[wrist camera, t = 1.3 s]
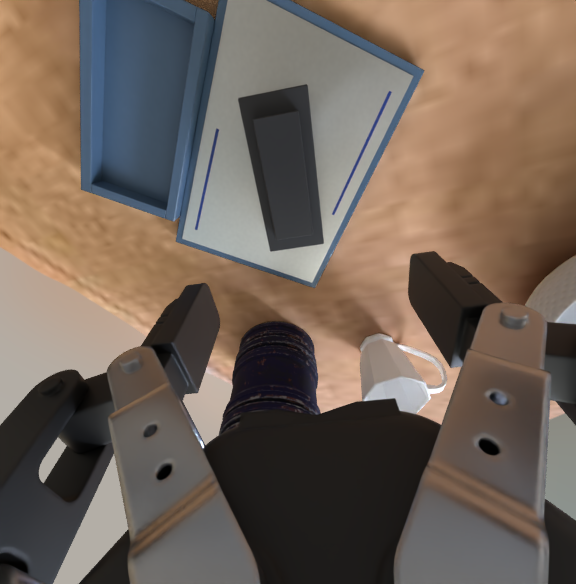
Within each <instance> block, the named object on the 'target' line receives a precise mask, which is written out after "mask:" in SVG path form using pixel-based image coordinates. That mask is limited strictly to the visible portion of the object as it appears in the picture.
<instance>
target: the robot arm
mask: <svg viewBox="0 0 576 584" xmlns="http://www.w3.org/2000/svg"><path fill="white" fill-rule="evenodd" d="M408 295H409V300H410V303H411V305H412V307H413V309H414V310H415V312H416V313H417V315H418V317H419V318H420V320H421V321H422V323H423V324H424V326H425V328H426V329H427V331H428V332H429V334H430V336H431V337H432V339H433V340H434V342H435V344H436V345H437V347H438V348H439V350H440V352H441V353H442V355H443V356H444V358H445V360H446V361H447V363H448V364H449V366H450V368H453V367H461V370H460V373H459V376H458V379H457V381H456V384H455V387H454V390H453V393H452V396H451V399H450V402H449V405H448V407H447V410H446V413H445V416H444V419H443V422H442V425H440V424H438V423H436V422H434V421H432V420H430V419H428V418H425V417H423V416H420V415H417V414H413V413H409V412H404V411H400V410H399V407H398V405H397V402H396V399H395V398H391V399H381V400H370V401H360V402H354V403H351V404H348V405H345V406H342V407H339V408H336V409H333V410H330V411H327V412H324V413H322V414H317V415H313V414H306V413H299V412H292V411H285V410H279V409H275V410H265V411H254V412H244V413H241V415H240V421H239V426H236V427H234V428H232V429H229V430H227V431H225V432H224V433H222V434H220V435H219V436H217V437H216V438H214V439H213V440H212V441H210V442H209V443H208V444H207V445H206V446H205V444H204V442H203V440H202V438H201V436H200V434H199V432H198V430H197V428H196V426H195V424H194V422H193V420H192V419H191V417H190V415H189V413H188V411H187V409H186V407H185V405H184V403H183V401H182V400H183V398H184V395H185V394H192V393H198V391H199V388H200V385H201V382H202V379H203V376H204V373H205V370H206V367H207V364H208V361H209V358H210V355H211V352H212V349H213V346H214V343H215V340H216V337H217V334H218V331H219V328H220V318H219V314H218V311H217V308H216V305H215V302H214V300H213V297H212V294H211V291H210V289H209V287H208V285H207V284H206V283H201V284H194V285H188V286H186V287H185V289H184V290H183V292H182V293H181V295H180V297H179V298H178V299H175V300H174V301H173V302H172V303H170V304H169V305H168V306H167V307H166V308H165V310H164V311H163V313H162V314H161V317H159V319H158V320H157V322H156V324H155V325H154V327H153V328H152V330H151V331H150V333H149V334H148V336H147V337H146V339H145V340H144V342H143V344H142V345H141V346H140V347H136V348H133V349H130V350H128V351H126V352H124V353H123V354H121V355H119V356H118V357H117V358H116V359H115V360H114V361H113V362H112V363H111V364H110V365H109V367H108V369H107V372H106V373H103V374H100V375H97V376H94V377H91V378H88V379H86V380H84V379H83V378H82V376H81V375H80V374H79V372H78V371H76V370H65V371H61V372H58V373H56V374H54V375H52V376H50V377H48V378H46V379H45V380H43V381H42V382H40V383H39V384H38V385H36V386H35V387H34V388H33V389H32V390H31V391H30V392H29V393H28V394H27V396H26V397H25V398H24V399H23V400H22V401H21V402H20V403H19V405H18V406H17V407H16V408H15V409H14V410H13V412H12V413H11V414H10V415H9V416H8V417H7V418H6V419H5V421H4V422H3V423H2V424H1V425H0V584H53V582H54V580H55V578H56V576H57V574H58V571H59V569H60V567H61V565H62V563H63V561H64V558H65V556H66V554H67V552H68V550H69V548H70V546H71V544H72V541H73V539H74V537H75V535H76V533H77V531H78V529H79V527H80V525H81V522H82V520H83V518H84V516H85V514H86V512H87V510H88V507H89V505H90V503H91V501H92V499H93V497H94V495H95V493H96V490H97V488H98V486H99V484H100V482H101V480H102V478H103V476H104V473H105V471H106V469H107V467H108V465H109V463H110V460H111V458H112V456H113V454H115V459H116V465H117V470H118V475H119V481H120V486H121V491H122V496H123V502H124V508H125V513H126V518H127V523H128V528H129V529H128V530H127V531H126V532H125V534H124V535H123V536H122V537H121V538H120V539H119V540H118V541H117V543H115V545H114V546H113V547H112V548H111V549H110V550H109V551H108V552H107V553H106V554H105V556H104V557H103V558H102V559H101V560H100V561H99V562H98V563H97V564H96V565H95V566H94V568H93V569H92V570H91V571H90V572H89V573H88V574H87V575H86V576H85V577H84V578H83V580H82V581H81V582H80V583H79V584H576V520H574V519H573V518H571V517H570V516H568V515H567V514H566V513H564V512H563V511H562V510H560V509H559V508H557V507H556V506H555V505H553V504H552V503H550V502H549V501H548V500H546V499H545V487H546V465H547V447H548V429H549V410H550V400H553V401H556V402H557V403H558V405H559V406H560V407H561V408H562V409H563V411H564V412H565V413H566V414H567V415H568V417H569V418H570V419H571V420H572V421H573V422H574V424H575V425H576V324H567V323H554V322H547V321H546V319H545V318H544V316H543V315H541V314H540V313H539V312H537V311H535V310H534V309H532V308H529V307H526V306H523V305H519V304H515V303H503V302H502V301H501V300H500V299H499V298H497V297H496V296H495V295H494V294H493V293H492V292H491V291H490V290H488V289H487V288H486V287H485V286H484V285H483V284H482V283H480V282H479V281H478V280H477V279H476V278H475V277H473V276H472V274H471V273H469V272H468V271H467V270H466V269H465V268H464V267H461V266H459V265H457V264H454V263H452V262H447V263H446V262H445V261H444V260H443V259H442V258H441V257H440V256H439V255H438V254H437V253H436V252H434V251H432V252H424V253H417V254H412V256H411V259H410V271H409V286H408ZM57 437H59V438H60V439H61V440H62V441H63V442H64V443H65V444H66V445H67V447H66V449H65V450H64V452H63V453H62V455H61V457H60V458H59V460H58V461H57V463H56V464H55V466H54V468H53V469H52V471H51V473H50V474H49V476H48V477H47V479H46V481H45V482H44V484H43V483H42V482H41V481H40V479H39V467H40V464H41V462H42V460H43V458H44V457H45V455H46V454H47V452H48V451H49V449H50V448H51V446H52V445H53V443H54V442H55V440H56V439H57Z"/></svg>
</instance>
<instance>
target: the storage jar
mask: <svg viewBox="0 0 576 584" xmlns="http://www.w3.org/2000/svg"><path fill="white" fill-rule="evenodd" d="M232 377H233V378H232V383H233V389H232V394H231V398H230V401H229V403H228V404H227V407H226V409H225V411H224V414H223V421H222V424H221V428H220V432H219V435H220V434H222V433H224V432H225V431H227V430H229V429H232V428H234V427H236V426H239V421H240V415H241V413H244V412H254V411H265V410H275V409H279V410H285V411H292V412H299V413H306V414H313V415H317V414H320V410H319V407H318V406H317V399H316V389H317V384H318V373H317V365H316V359H315V355H314V345H313V342H312V340H311V338H310V337H309V335H308V334H307V333H306V332H305V331H303V330H302V329H301V328H299V327H297V326H295V325H293V324H289V323H285V322H267V323H262V324H260V325H257V326H255V327H253V328H252V329H250V330H249V331H248V332H247V333H246V334H245V335H244V337H243V338H242V340H241V343H240V349H239V352H238V354H237V357H236V361H235V366H234V371H233V376H232Z"/></svg>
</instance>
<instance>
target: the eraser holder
mask: <svg viewBox="0 0 576 584" xmlns="http://www.w3.org/2000/svg"><path fill="white" fill-rule="evenodd" d="M79 12H80V126H81V190H84V191H87V192H90V193H93V194H96V195H99V196H101V197H104V198H107V199H110V200H113V201H116V202H119V203H122V204H124V205H127V206H130V207H133V208H136V209H139V210H142V211H145V212H148V213H150V214H153V215H156V216H159V217H162V218H165V219H168V220H171V221H175V220H176V219H177V218H178V217H179V216H180V214H181V209H182V203H183V197H184V192H185V186H186V181H187V175H188V169H189V164H190V158H191V153H192V147H193V141H194V136H195V130H196V125H197V119H198V113H199V108H200V102H201V97H202V91H203V85H204V80H205V74H206V69H207V63H208V57H209V52H210V46H211V41H212V35H213V29H214V24H215V20H214V18H213V17H212V16H211V15H210V13H209V12H207V11H205V10H203V9H201V8H199V7H196V6H195V5H193V4H191V3H189V2H187V1H185V0H79Z"/></svg>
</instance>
